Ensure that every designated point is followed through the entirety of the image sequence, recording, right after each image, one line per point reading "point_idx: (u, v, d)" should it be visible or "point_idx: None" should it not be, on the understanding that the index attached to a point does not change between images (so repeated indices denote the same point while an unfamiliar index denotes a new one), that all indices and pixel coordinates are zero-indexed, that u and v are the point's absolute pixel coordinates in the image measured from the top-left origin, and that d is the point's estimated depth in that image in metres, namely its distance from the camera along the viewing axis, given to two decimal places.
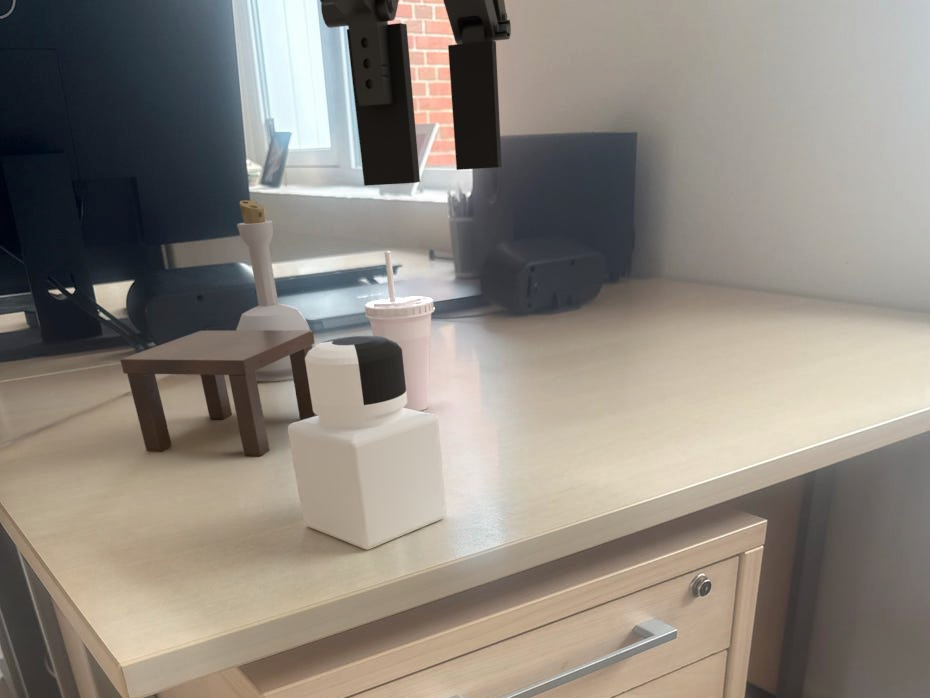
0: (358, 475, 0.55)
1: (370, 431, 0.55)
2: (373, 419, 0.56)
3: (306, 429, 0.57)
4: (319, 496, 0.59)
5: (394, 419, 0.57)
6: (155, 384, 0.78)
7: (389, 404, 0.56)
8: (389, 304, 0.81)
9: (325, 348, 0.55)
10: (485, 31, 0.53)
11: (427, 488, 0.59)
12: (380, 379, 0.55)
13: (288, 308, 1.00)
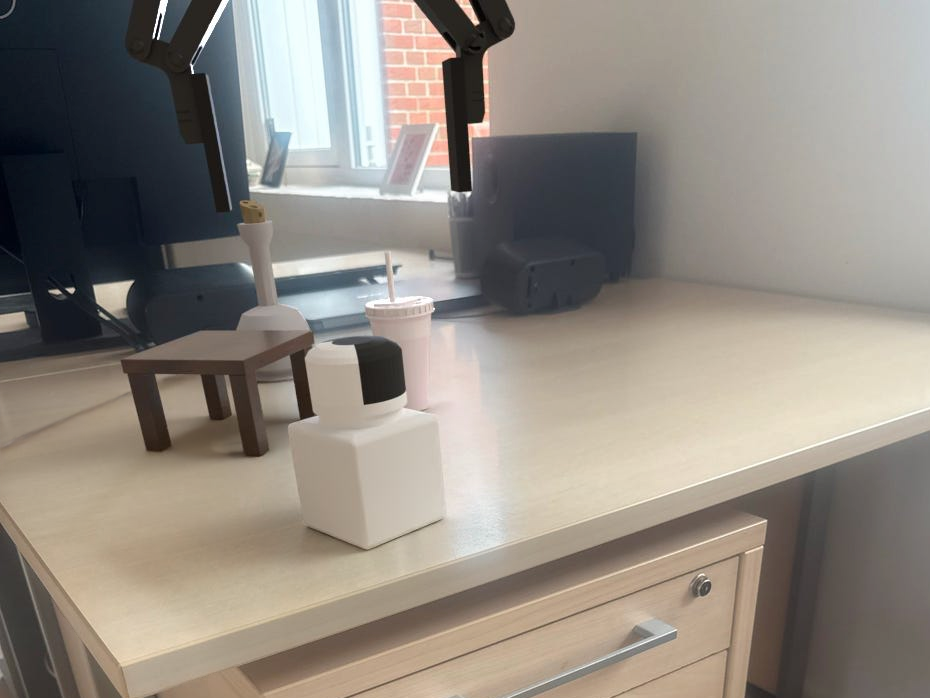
0: (358, 475, 0.55)
1: (370, 431, 0.55)
2: (373, 419, 0.56)
3: (306, 429, 0.57)
4: (319, 496, 0.59)
5: (394, 419, 0.57)
6: (155, 384, 0.78)
7: (389, 404, 0.56)
8: (389, 304, 0.81)
9: (325, 348, 0.55)
10: (461, 46, 0.49)
11: (427, 488, 0.59)
12: (380, 379, 0.55)
13: (288, 308, 1.00)
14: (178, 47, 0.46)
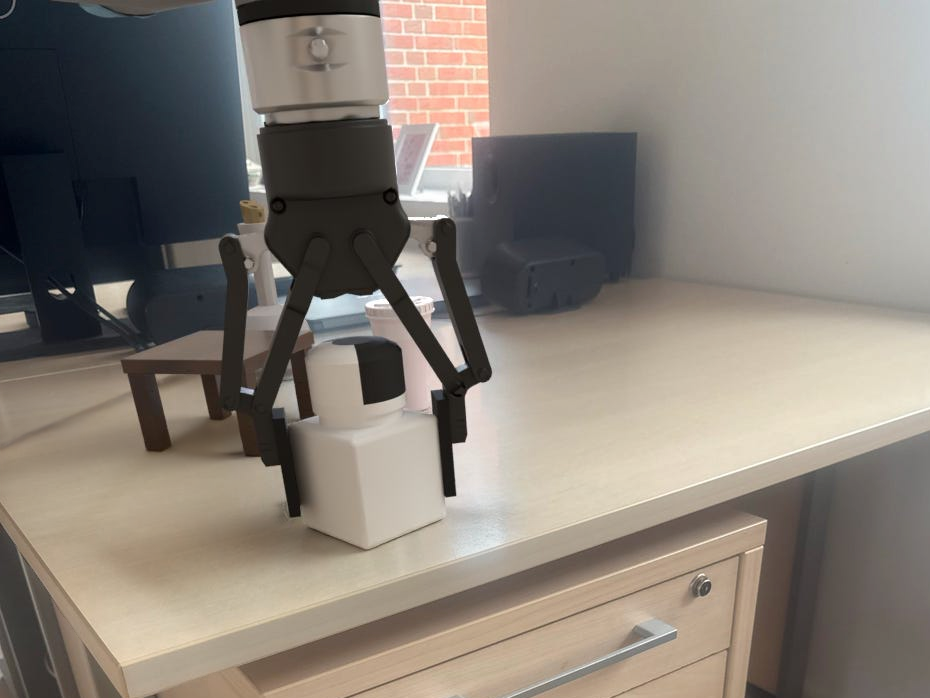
0: (358, 475, 0.55)
1: (370, 431, 0.55)
2: (373, 419, 0.56)
3: (306, 429, 0.57)
4: (319, 496, 0.59)
5: (394, 419, 0.57)
6: (155, 384, 0.78)
7: (388, 404, 0.56)
8: (389, 304, 0.81)
9: (325, 348, 0.55)
10: None
11: (427, 488, 0.59)
12: (380, 379, 0.55)
13: None
14: (261, 400, 0.55)
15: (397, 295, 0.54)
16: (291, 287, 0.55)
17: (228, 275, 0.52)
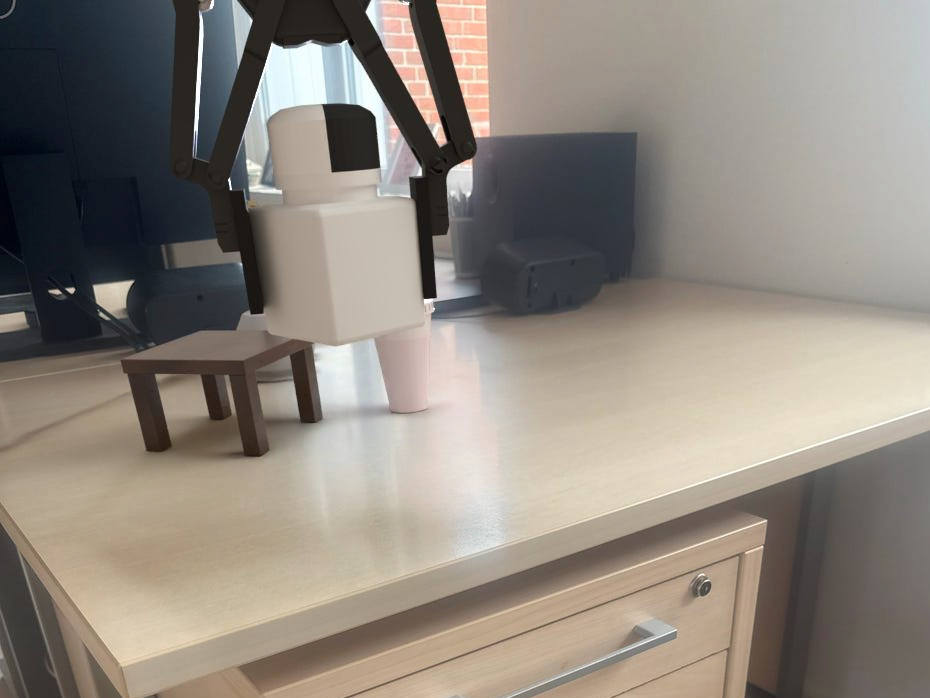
0: (325, 252, 0.49)
1: (339, 204, 0.49)
2: (342, 192, 0.50)
3: (268, 209, 0.51)
4: (283, 291, 0.53)
5: (366, 197, 0.51)
6: (155, 384, 0.78)
7: (360, 175, 0.50)
8: None
9: (288, 108, 0.49)
10: None
11: (404, 285, 0.53)
12: (350, 143, 0.49)
13: None
14: (216, 167, 0.49)
15: (369, 42, 0.48)
16: None
17: (177, 7, 0.46)
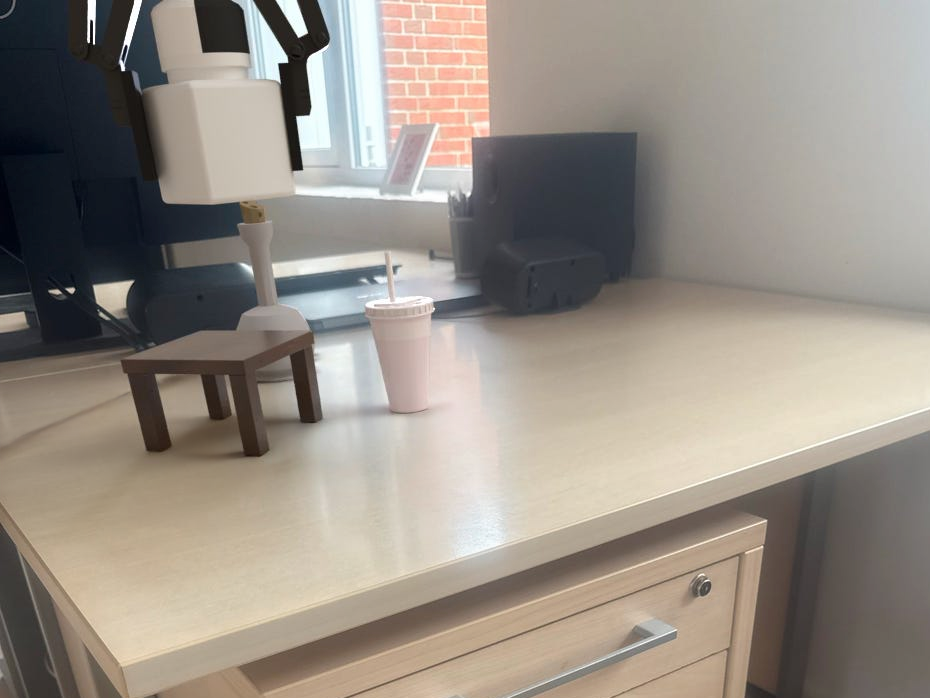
0: (196, 119, 0.59)
1: (209, 80, 0.59)
2: (214, 71, 0.60)
3: (154, 88, 0.61)
4: (170, 160, 0.63)
5: (236, 77, 0.61)
6: (155, 384, 0.78)
7: (228, 57, 0.60)
8: (389, 304, 0.81)
9: None
10: (287, 52, 0.62)
11: (273, 156, 0.63)
12: (218, 28, 0.59)
13: (288, 308, 1.00)
14: (108, 50, 0.59)
15: None
16: None
17: None
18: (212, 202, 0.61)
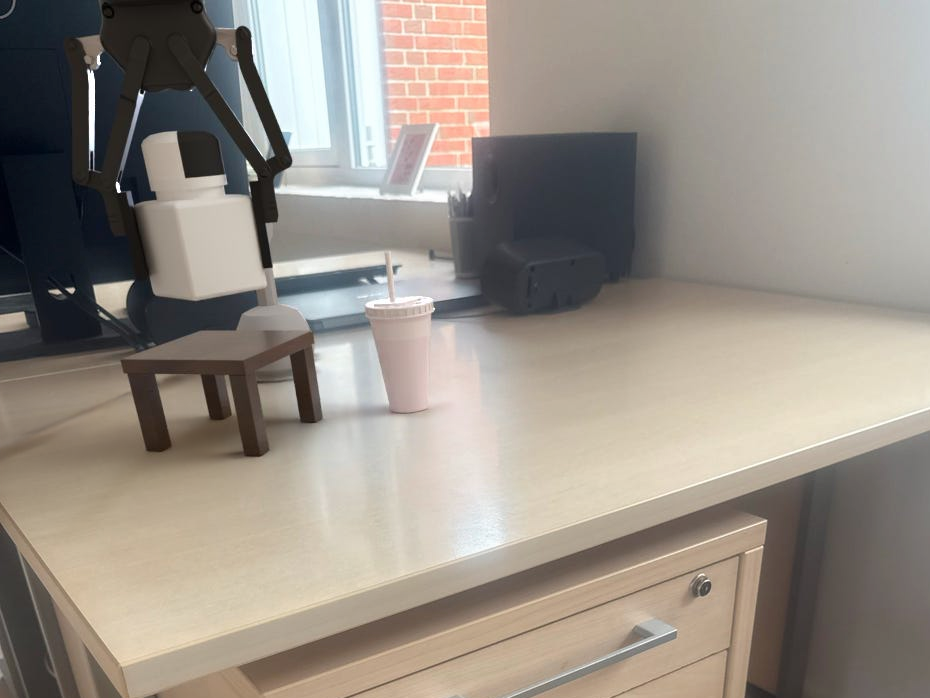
0: (181, 233, 0.71)
1: (191, 200, 0.71)
2: (195, 192, 0.71)
3: (145, 204, 0.73)
4: (159, 263, 0.74)
5: (214, 195, 0.72)
6: (155, 384, 0.78)
7: (206, 180, 0.71)
8: (389, 304, 0.81)
9: (155, 134, 0.70)
10: None
11: (246, 257, 0.75)
12: (198, 157, 0.70)
13: (288, 308, 1.00)
14: (106, 176, 0.71)
15: (207, 89, 0.69)
16: None
17: (72, 68, 0.67)
18: (195, 299, 0.73)
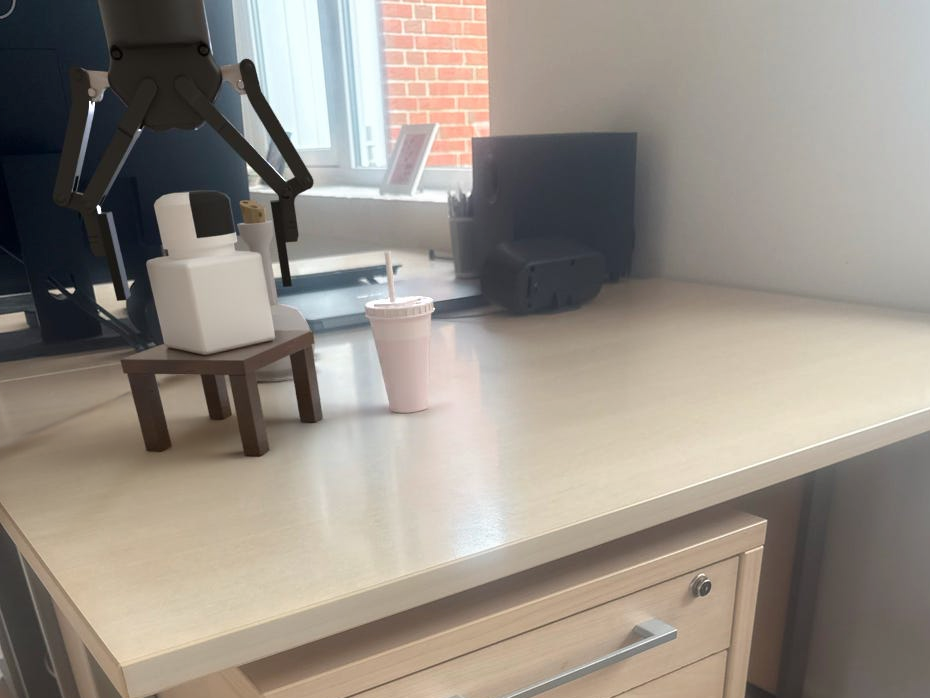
0: (193, 291, 0.73)
1: (203, 259, 0.73)
2: (206, 251, 0.73)
3: (157, 261, 0.75)
4: (171, 317, 0.76)
5: (224, 253, 0.74)
6: (155, 384, 0.78)
7: (217, 239, 0.73)
8: (389, 304, 0.81)
9: (167, 195, 0.72)
10: (279, 194, 0.74)
11: (255, 312, 0.77)
12: (209, 218, 0.72)
13: (288, 308, 1.00)
14: (88, 198, 0.71)
15: (219, 123, 0.70)
16: None
17: (74, 97, 0.68)
18: (206, 353, 0.75)
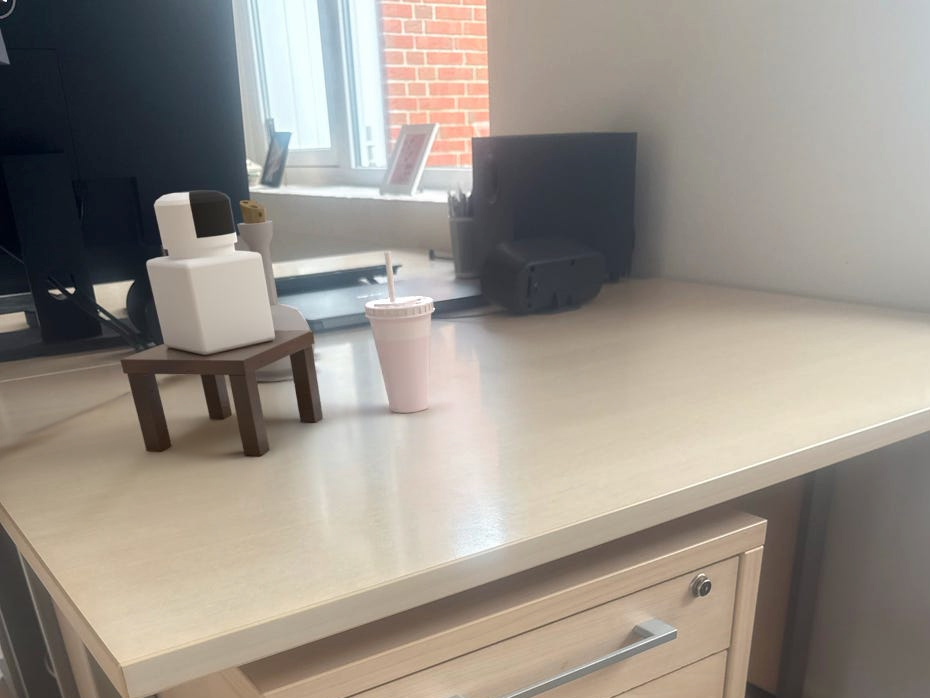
0: (193, 291, 0.73)
1: (203, 259, 0.73)
2: (206, 251, 0.73)
3: (157, 261, 0.75)
4: (171, 317, 0.76)
5: (224, 253, 0.74)
6: (155, 384, 0.78)
7: (217, 239, 0.73)
8: (389, 304, 0.81)
9: (167, 195, 0.72)
10: None
11: (255, 312, 0.77)
12: (209, 218, 0.72)
13: (288, 308, 1.00)
14: None
15: None
16: None
17: None
18: (206, 353, 0.75)
